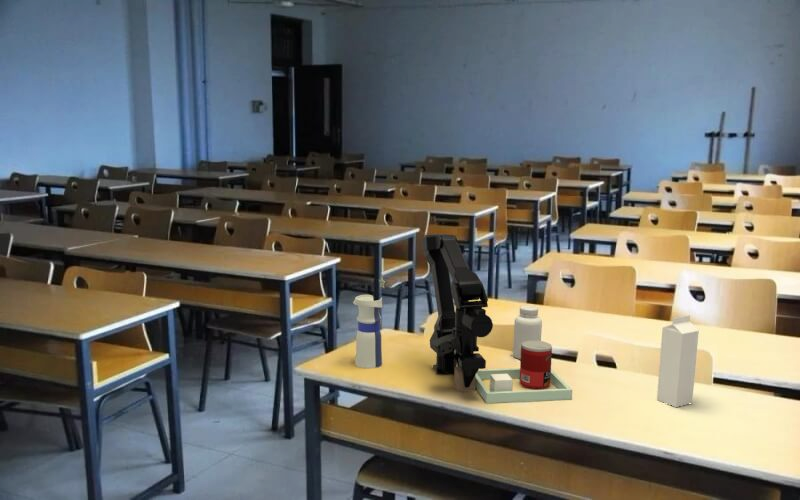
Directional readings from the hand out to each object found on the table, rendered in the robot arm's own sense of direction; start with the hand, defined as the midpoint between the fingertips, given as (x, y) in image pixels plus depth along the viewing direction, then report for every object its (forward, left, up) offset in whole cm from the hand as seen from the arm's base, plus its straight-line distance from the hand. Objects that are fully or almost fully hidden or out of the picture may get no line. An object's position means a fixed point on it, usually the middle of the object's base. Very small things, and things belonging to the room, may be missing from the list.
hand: (464, 383), depth 188 cm
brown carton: (0, 0, -1) cm, 1 cm away
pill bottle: (-22, +24, -1) cm, 33 cm away
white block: (+6, +8, -1) cm, 10 cm away
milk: (+16, +50, -1) cm, 52 cm away
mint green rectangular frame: (+3, +14, -1) cm, 14 cm away
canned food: (0, +19, -1) cm, 19 cm away
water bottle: (-21, -23, -1) cm, 32 cm away
